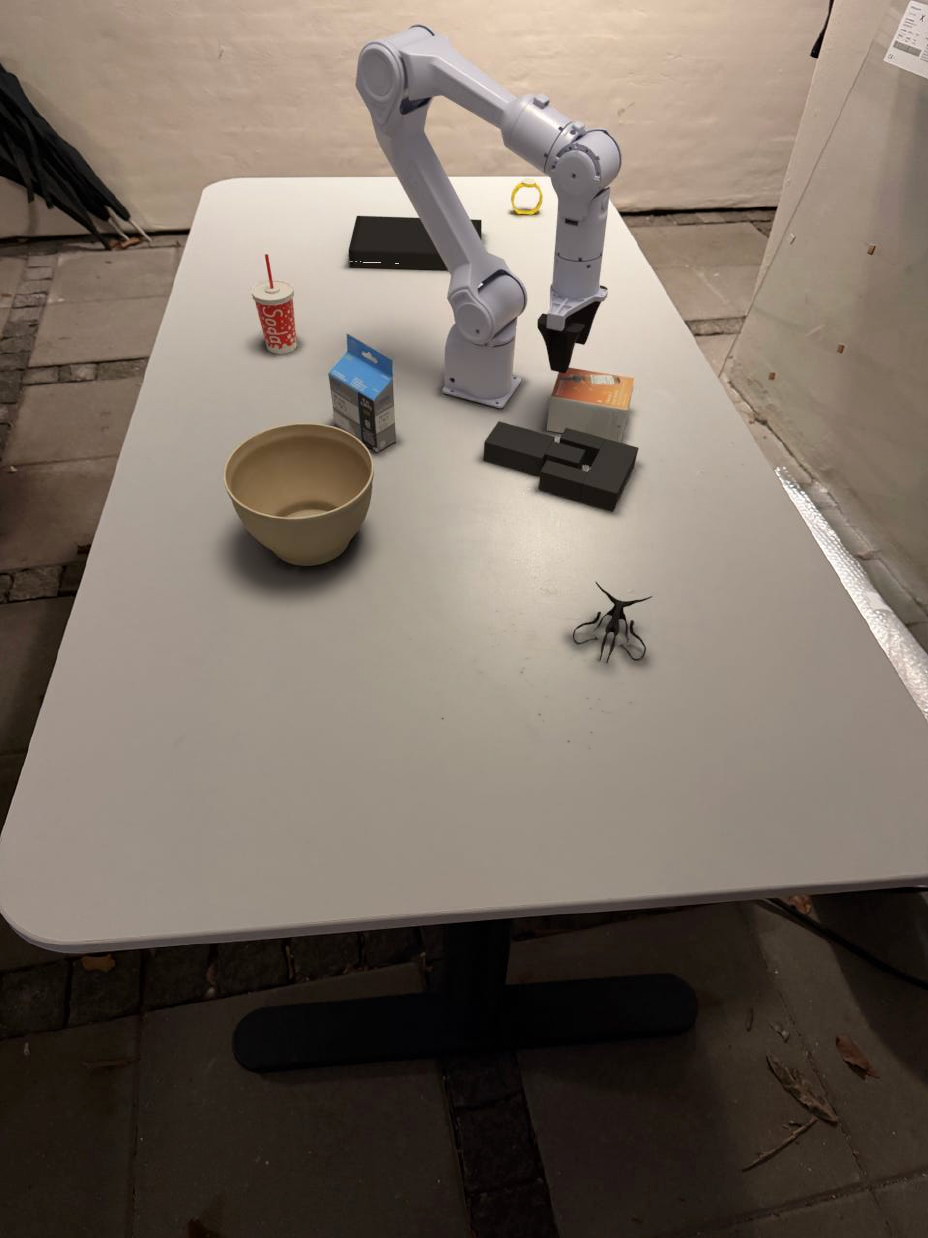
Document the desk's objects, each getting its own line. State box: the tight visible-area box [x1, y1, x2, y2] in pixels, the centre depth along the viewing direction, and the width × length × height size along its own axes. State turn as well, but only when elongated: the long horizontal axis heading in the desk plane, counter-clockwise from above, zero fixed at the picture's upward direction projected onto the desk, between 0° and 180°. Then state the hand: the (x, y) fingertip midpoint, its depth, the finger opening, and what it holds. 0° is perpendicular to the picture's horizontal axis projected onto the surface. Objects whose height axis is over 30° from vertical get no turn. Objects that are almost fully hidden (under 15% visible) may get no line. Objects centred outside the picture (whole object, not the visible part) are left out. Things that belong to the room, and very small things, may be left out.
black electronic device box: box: [348, 215, 483, 271], centre depth 140 cm, size 14×23×3 cm, turn 89°
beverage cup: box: [250, 253, 298, 355], centre depth 114 cm, size 6×6×14 cm
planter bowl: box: [222, 422, 375, 567], centre depth 88 cm, size 16×16×11 cm
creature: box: [572, 581, 653, 664], centre depth 82 cm, size 8×5×8 cm
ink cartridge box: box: [327, 333, 397, 453], centre depth 101 cm, size 9×4×12 cm, turn 47°
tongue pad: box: [483, 420, 585, 477], centre depth 102 cm, size 12×5×3 cm, turn 67°
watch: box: [510, 177, 544, 216], centre depth 150 cm, size 6×3×6 cm, turn 96°
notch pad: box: [538, 428, 639, 512], centre depth 100 cm, size 10×10×3 cm
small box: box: [546, 366, 636, 443], centre depth 107 cm, size 8×6×10 cm
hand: (568, 356), depth 102 cm, fingers open, 7 cm apart
